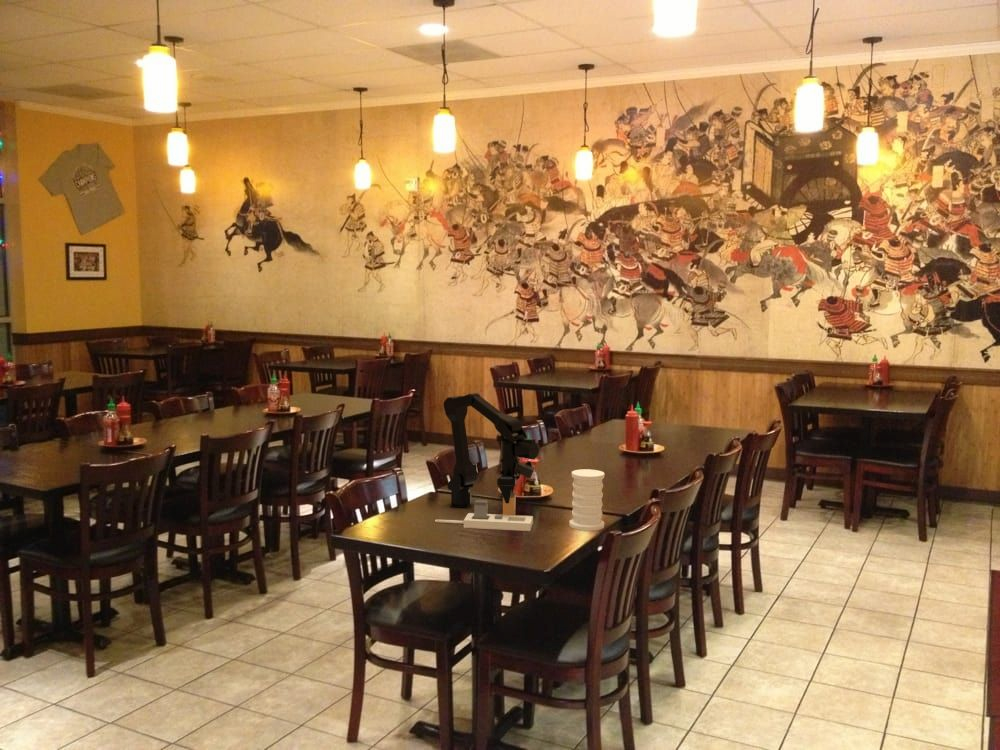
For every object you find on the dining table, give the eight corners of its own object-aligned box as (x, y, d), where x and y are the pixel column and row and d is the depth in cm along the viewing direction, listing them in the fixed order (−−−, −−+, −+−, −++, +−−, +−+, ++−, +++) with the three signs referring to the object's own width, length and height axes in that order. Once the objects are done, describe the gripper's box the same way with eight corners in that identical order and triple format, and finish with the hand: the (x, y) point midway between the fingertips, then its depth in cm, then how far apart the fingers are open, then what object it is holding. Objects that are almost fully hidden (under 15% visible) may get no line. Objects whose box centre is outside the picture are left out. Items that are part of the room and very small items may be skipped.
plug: (502, 517, 303) (503, 494, 302) (503, 514, 306) (504, 492, 305) (514, 517, 303) (514, 494, 302) (515, 515, 306) (515, 492, 305)
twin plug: (474, 525, 292) (474, 502, 291) (475, 523, 295) (475, 499, 294) (486, 526, 292) (486, 502, 291) (487, 523, 295) (487, 500, 294)
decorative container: (568, 529, 289) (569, 475, 287) (570, 520, 300) (571, 468, 298) (603, 531, 287) (605, 477, 285) (604, 521, 299) (606, 469, 297)
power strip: (432, 526, 291) (432, 516, 291) (437, 518, 300) (437, 509, 300) (530, 531, 287) (530, 521, 287) (532, 523, 296) (533, 513, 295)
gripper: (530, 462, 292) (529, 508, 294) (535, 451, 310) (534, 494, 312) (497, 460, 293) (496, 506, 295) (504, 449, 312) (503, 492, 313)
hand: (509, 499), depth 304 cm, fingers open, 9 cm apart
